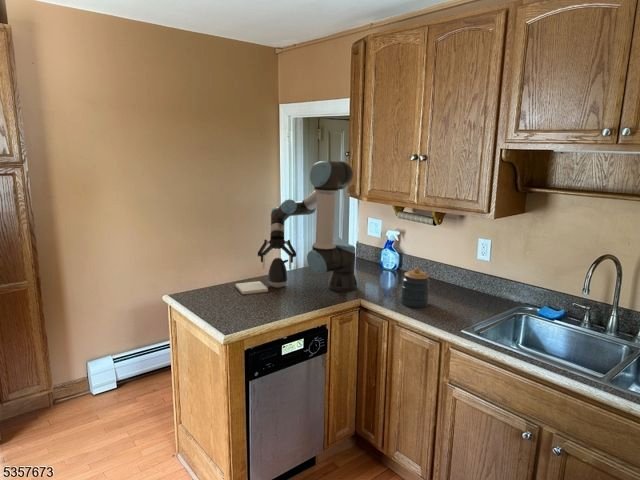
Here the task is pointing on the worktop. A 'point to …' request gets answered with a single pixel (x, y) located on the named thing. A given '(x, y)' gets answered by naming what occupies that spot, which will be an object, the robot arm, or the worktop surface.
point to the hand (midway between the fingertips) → (276, 267)
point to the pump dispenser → (277, 273)
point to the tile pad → (251, 287)
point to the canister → (415, 289)
